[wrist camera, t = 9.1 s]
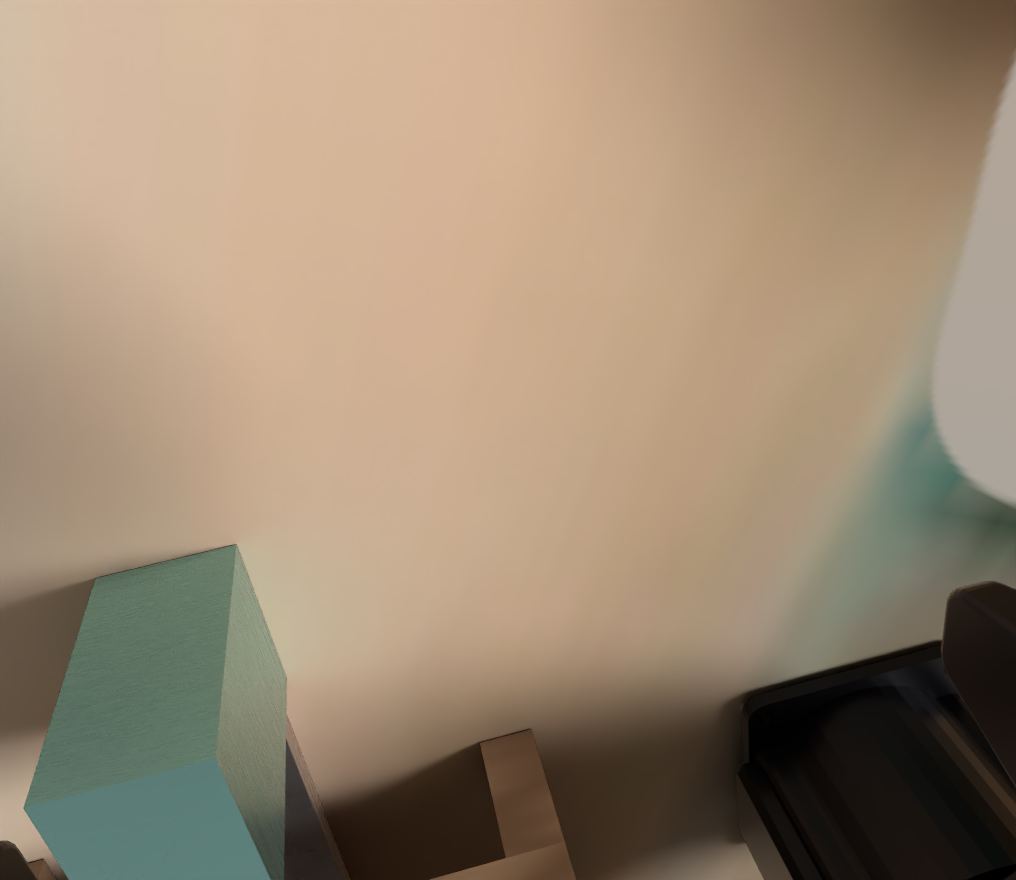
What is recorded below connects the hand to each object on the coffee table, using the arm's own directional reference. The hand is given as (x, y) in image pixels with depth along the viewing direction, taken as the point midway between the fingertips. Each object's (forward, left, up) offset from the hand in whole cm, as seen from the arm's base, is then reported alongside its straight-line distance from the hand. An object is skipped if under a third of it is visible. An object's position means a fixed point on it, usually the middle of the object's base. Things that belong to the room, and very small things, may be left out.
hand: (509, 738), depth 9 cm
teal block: (+6, +12, -11) cm, 18 cm away
